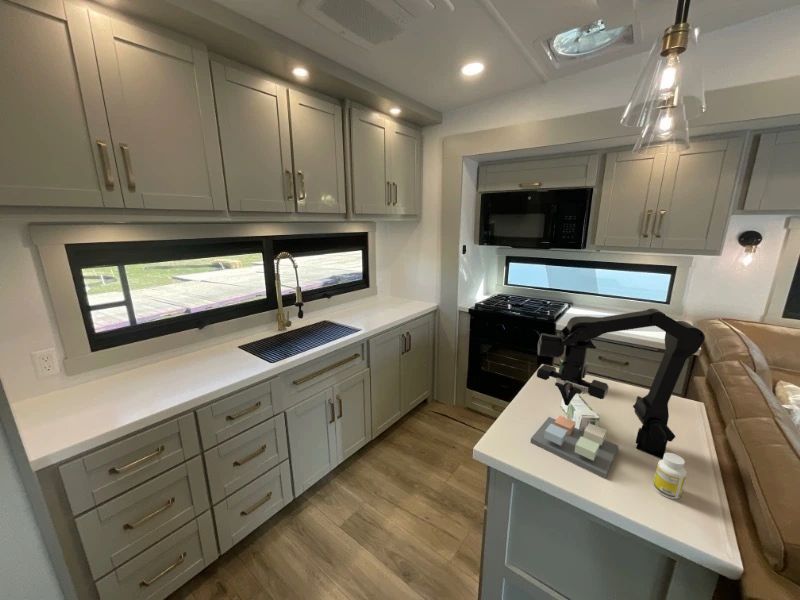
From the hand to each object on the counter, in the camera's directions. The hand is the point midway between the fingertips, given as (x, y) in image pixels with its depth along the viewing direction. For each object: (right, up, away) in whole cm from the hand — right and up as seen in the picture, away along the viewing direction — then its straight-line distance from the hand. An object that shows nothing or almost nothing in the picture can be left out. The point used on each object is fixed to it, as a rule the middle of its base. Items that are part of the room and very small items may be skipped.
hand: (566, 404), depth 99 cm
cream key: (+6, -9, -4) cm, 11 cm away
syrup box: (+9, -3, +16) cm, 19 cm away
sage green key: (0, -10, -10) cm, 14 cm away
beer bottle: (+17, -3, +31) cm, 36 cm away
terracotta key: (0, -8, +2) cm, 9 cm away
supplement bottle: (+15, -16, -19) cm, 29 cm away
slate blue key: (-6, -9, -4) cm, 11 cm away
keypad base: (0, -11, -3) cm, 12 cm away
